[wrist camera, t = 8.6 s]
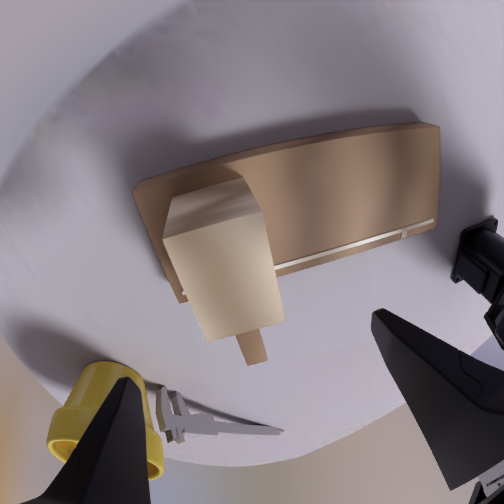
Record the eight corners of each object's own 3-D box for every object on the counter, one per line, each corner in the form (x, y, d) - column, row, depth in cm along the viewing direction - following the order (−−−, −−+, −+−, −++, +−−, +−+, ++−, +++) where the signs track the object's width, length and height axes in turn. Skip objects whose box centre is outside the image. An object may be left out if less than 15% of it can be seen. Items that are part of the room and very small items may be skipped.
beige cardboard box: (243, 177, 15) (262, 211, 11) (273, 302, 20) (292, 356, 16) (172, 197, 15) (161, 239, 11) (217, 317, 20) (224, 374, 16)
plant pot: (121, 333, 22) (103, 437, 14) (182, 394, 27) (187, 478, 19) (48, 359, 22) (24, 440, 14) (110, 410, 28) (104, 482, 19)
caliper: (156, 386, 26) (154, 439, 21) (162, 382, 26) (161, 436, 21) (277, 431, 36) (287, 467, 31) (283, 428, 36) (294, 465, 30)
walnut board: (421, 122, 17) (440, 126, 15) (421, 217, 21) (436, 227, 19) (138, 182, 16) (131, 192, 15) (180, 285, 21) (179, 304, 19)
